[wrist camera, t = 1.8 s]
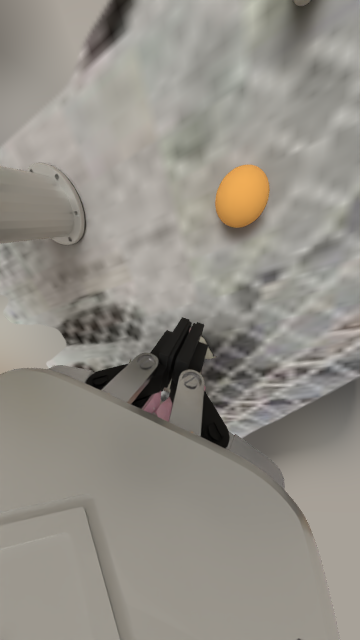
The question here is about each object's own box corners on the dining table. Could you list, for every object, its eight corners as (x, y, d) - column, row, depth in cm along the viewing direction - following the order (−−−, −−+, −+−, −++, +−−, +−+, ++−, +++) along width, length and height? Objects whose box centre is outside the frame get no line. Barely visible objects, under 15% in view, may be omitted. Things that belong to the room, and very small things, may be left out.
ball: (213, 221, 24) (205, 223, 20) (226, 168, 21) (220, 153, 16) (254, 230, 23) (257, 234, 18) (275, 175, 20) (284, 161, 15)
